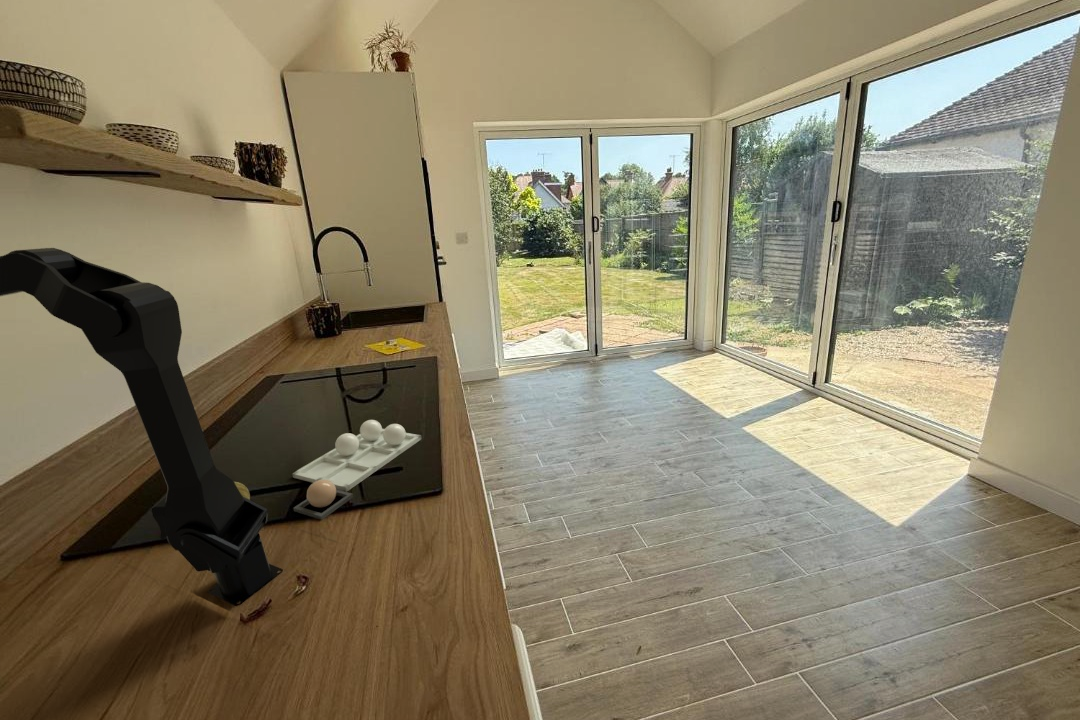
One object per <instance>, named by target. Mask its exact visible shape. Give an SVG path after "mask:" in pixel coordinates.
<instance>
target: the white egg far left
mask: <svg viewBox="0 0 1080 720" xmlns="http://www.w3.org/2000/svg"><path fill="white" fill-rule="evenodd" d="M384 429H385V430H384V432H383V438H384V440H385V442H386V443H387V444H389V445H393V446H395V445H399V444H401V443H402V442H403V441H404V439H405V436H406V433H407V432H406V430H405V428H404V427H403V426H402V425H401V424H398V423H391V424H389V425H387V426H386V427H385V428H384Z"/></svg>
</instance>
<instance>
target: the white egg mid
mask: <svg viewBox="0 0 1080 720" xmlns="http://www.w3.org/2000/svg"><path fill="white" fill-rule="evenodd" d="M356 436H357V435H355V434H353V433H349V432H346V433H342V434H341V435H339V436H338V437H337V439H336V440H335V443H334V447H335V448H336V450H337V452H338V453H339V454H341V455H344V456H349V455H352V454H354V453H355V452H356V451H357V450H358V447H359V440H358V438H357V437H356ZM335 448H334V449H335Z"/></svg>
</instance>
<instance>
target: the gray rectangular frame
mask: <svg viewBox="0 0 1080 720" xmlns="http://www.w3.org/2000/svg"><path fill="white" fill-rule="evenodd" d="M336 496H338V497H342V498H341V499H340V500H338V501H337V502H335V503H334V504H333V505H331V506H330V507H328V508H327V509H326V510H324V511H323V512H318V511H314V510H311V509H308V508H305V507H306V506H308V505H311V504H310V503H309V502H308V500H307V498H306V499H305V500H303V501H301V502H300V503H299V504H297V505H295V506H294V507H293V511H294V513H299V514H302V515H305V516H309V517H311V518H314V519H318V520H321V521H323V520H325V519H326V518H327V517H328V516H329V515H331V514H332V513H334V512H335V511H336V510H338V509H339V508H341V507H342V506H344V504H346V503H348V502H349V501H350V500H351V499H353V498H354V494H353V493H352V492H348V491H347V492H346V491H342V490H338V489H336Z"/></svg>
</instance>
